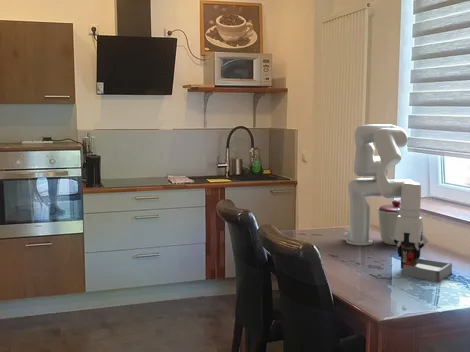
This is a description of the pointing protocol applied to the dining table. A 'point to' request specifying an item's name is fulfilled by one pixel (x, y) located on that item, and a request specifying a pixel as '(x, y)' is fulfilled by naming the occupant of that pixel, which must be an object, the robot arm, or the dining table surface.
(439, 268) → the tile front
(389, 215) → the canister
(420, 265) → the tile back
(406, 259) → the deodorant
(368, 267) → the dining table surface
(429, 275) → the grey u-shaped bracket
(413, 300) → the dining table surface
